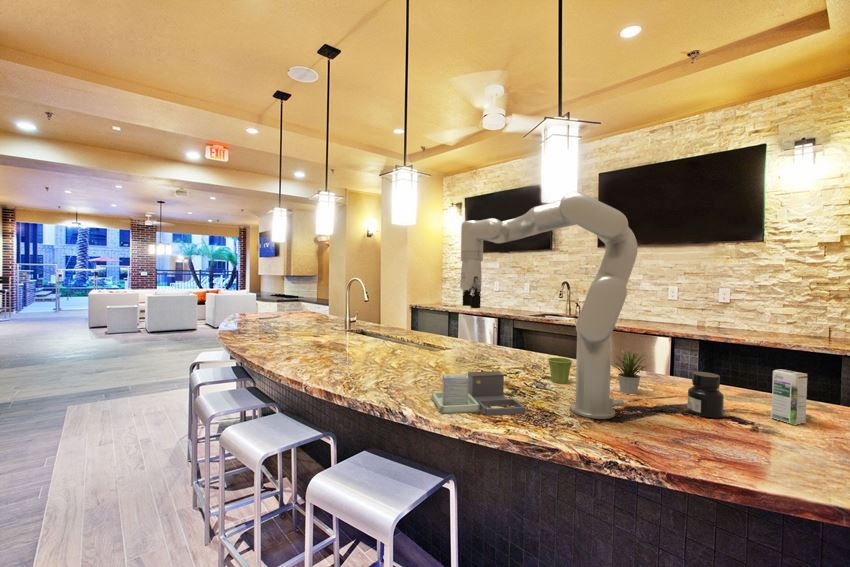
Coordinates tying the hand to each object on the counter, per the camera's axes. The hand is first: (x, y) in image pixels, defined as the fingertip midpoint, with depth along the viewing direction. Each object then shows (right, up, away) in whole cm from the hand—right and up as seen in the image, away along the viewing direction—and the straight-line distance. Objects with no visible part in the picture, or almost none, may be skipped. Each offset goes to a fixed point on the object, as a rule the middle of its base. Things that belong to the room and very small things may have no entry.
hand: (471, 306), depth 133 cm
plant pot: (+37, -31, +19) cm, 51 cm away
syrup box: (+90, -32, -21) cm, 98 cm away
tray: (-6, -30, -11) cm, 33 cm away
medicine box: (-6, -30, -11) cm, 33 cm away
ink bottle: (+70, -32, -15) cm, 78 cm away
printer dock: (+6, -31, -8) cm, 32 cm away
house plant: (+58, -31, +4) cm, 66 cm away
